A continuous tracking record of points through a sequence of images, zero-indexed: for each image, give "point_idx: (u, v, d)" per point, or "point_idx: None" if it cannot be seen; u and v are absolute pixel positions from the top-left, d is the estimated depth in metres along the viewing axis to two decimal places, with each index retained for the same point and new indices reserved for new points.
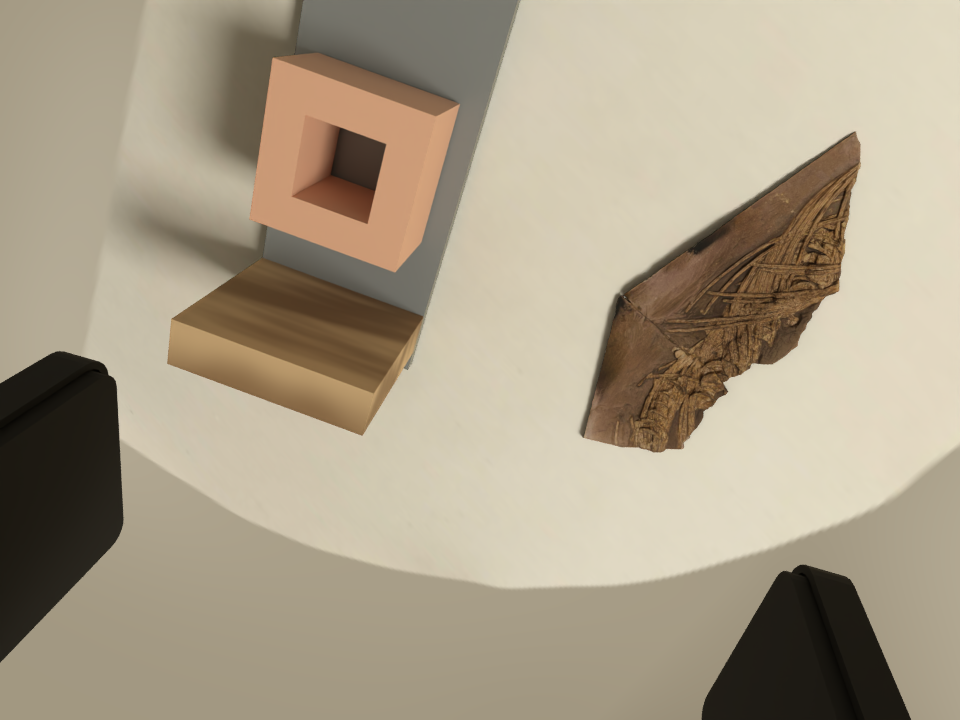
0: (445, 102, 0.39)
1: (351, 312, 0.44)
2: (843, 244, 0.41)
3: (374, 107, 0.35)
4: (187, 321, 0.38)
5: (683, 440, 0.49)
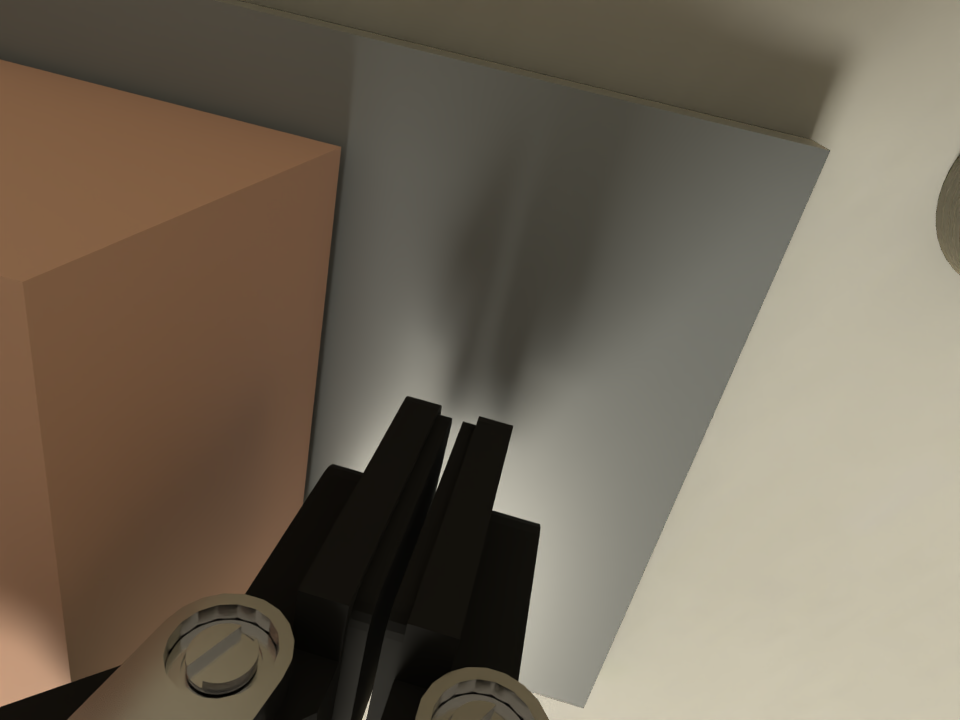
0: None
1: None
2: None
3: None
4: None
5: None
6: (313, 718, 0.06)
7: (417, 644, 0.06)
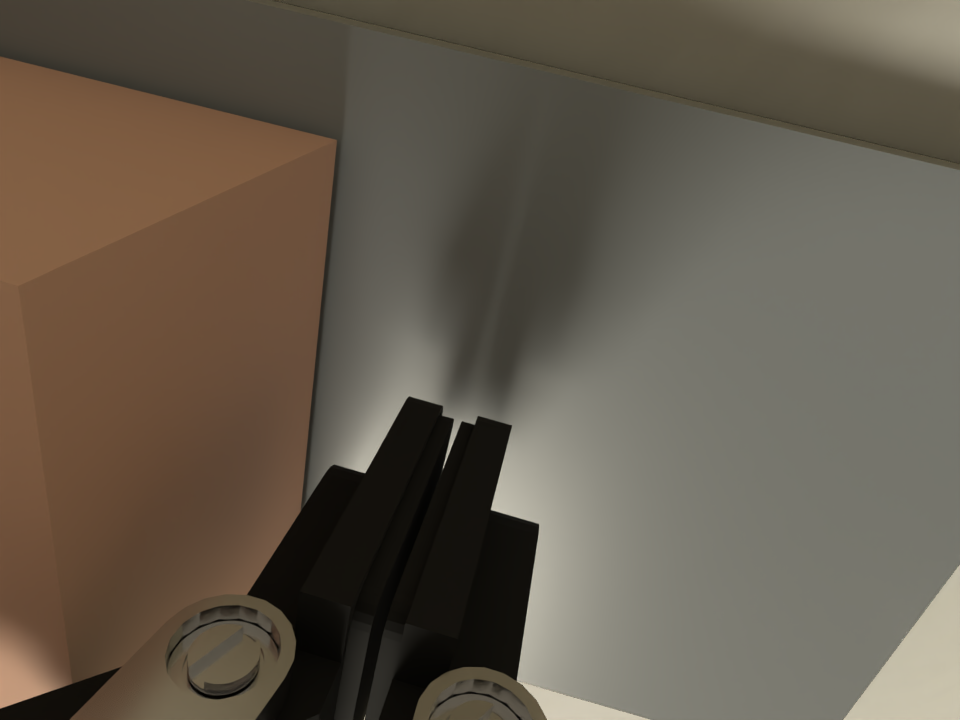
0: None
1: None
2: None
3: None
4: None
5: None
6: None
7: (415, 644, 0.06)
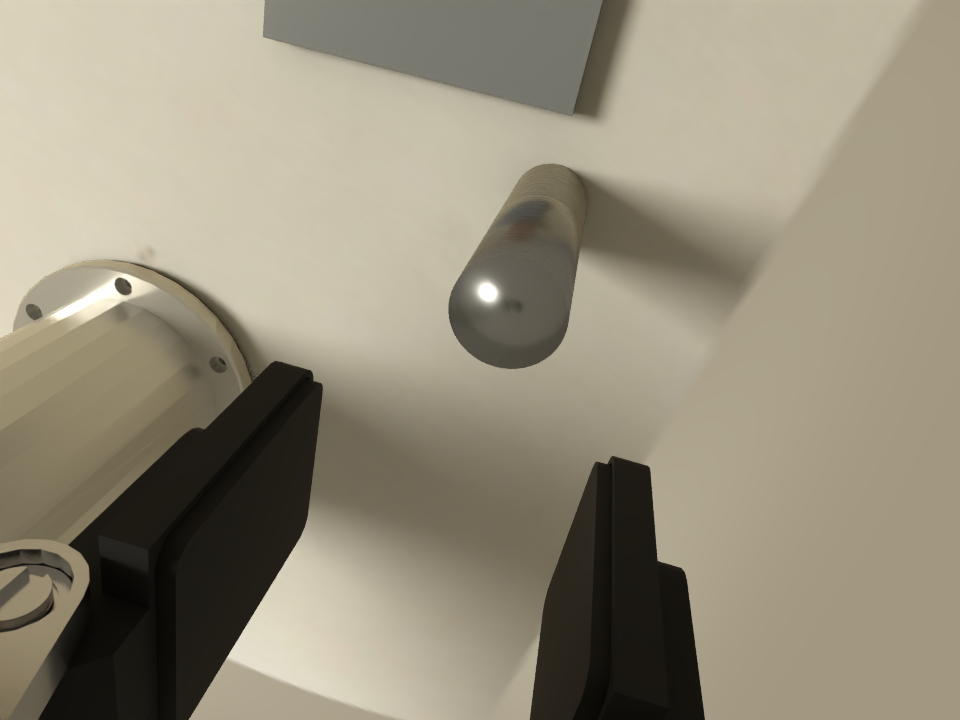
0: None
1: None
2: None
3: None
4: None
5: None
6: (109, 660, 0.06)
7: (621, 712, 0.06)
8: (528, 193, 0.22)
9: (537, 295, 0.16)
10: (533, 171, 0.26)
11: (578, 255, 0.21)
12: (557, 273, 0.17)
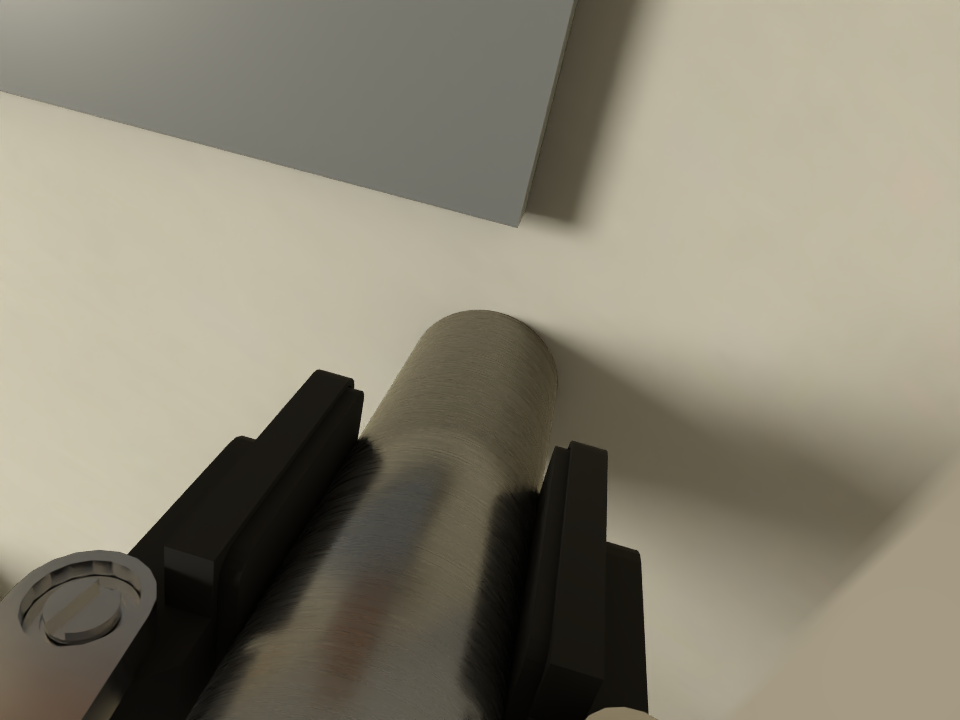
0: None
1: None
2: None
3: None
4: None
5: None
6: (176, 671, 0.06)
7: (558, 683, 0.06)
8: (387, 466, 0.08)
9: None
10: (440, 336, 0.12)
11: None
12: None
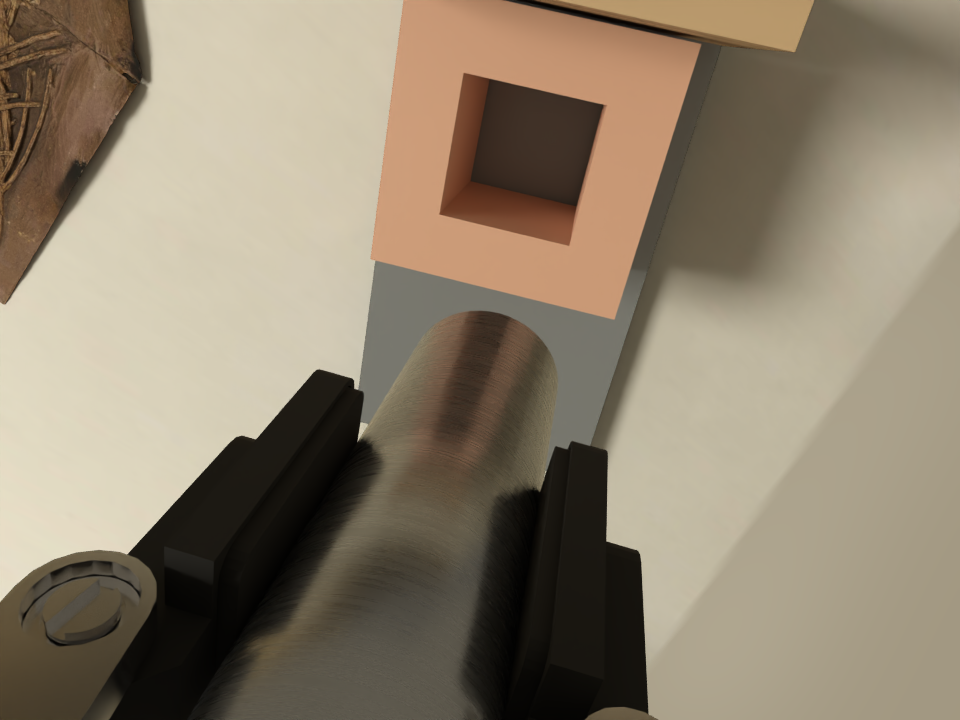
0: None
1: None
2: None
3: (460, 264, 0.24)
4: (758, 44, 0.16)
5: None
6: (176, 671, 0.06)
7: (558, 683, 0.06)
8: (388, 467, 0.08)
9: None
10: (441, 337, 0.12)
11: None
12: None
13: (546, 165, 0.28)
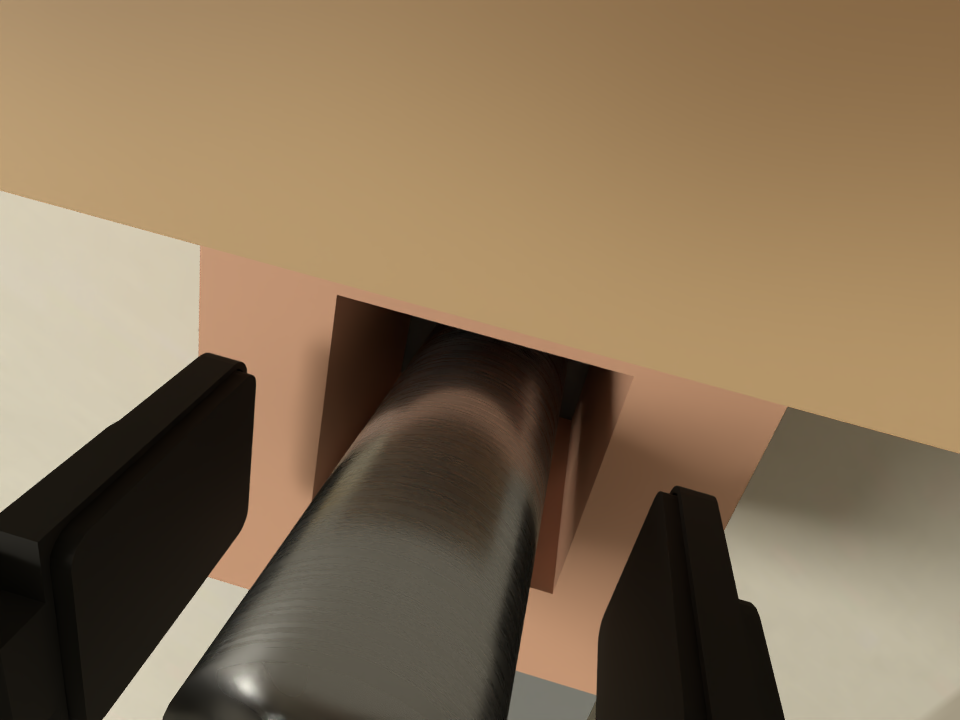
0: None
1: None
2: None
3: None
4: None
5: None
6: None
7: None
8: (449, 343, 0.11)
9: None
10: None
11: (546, 481, 0.10)
12: (451, 676, 0.06)
13: None
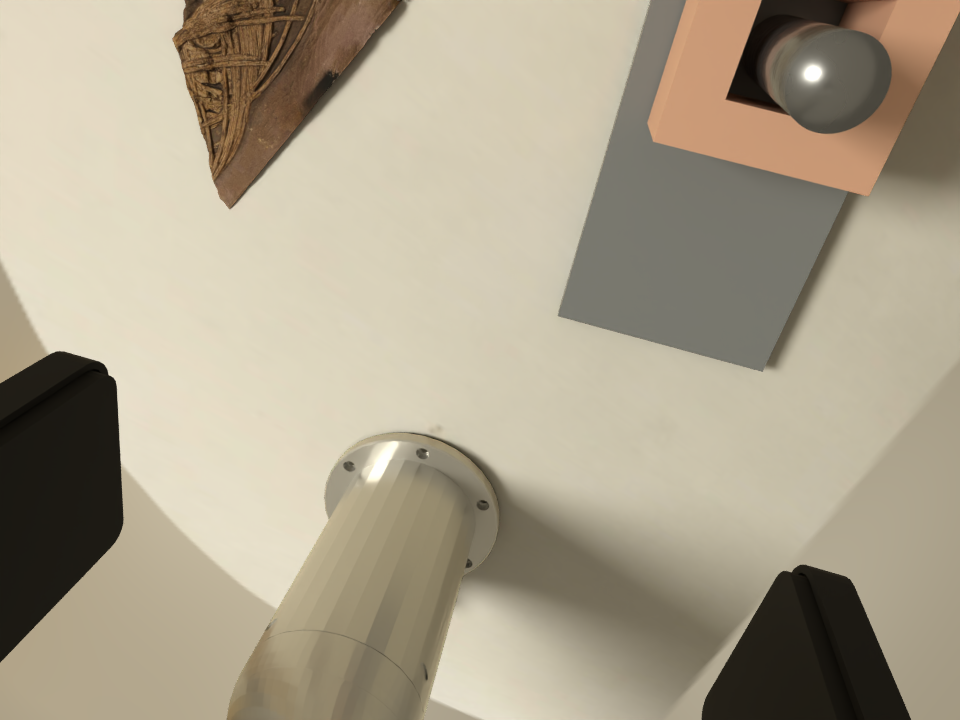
0: None
1: None
2: (191, 96, 0.38)
3: (735, 145, 0.28)
4: None
5: None
6: None
7: None
8: (791, 22, 0.26)
9: (865, 62, 0.21)
10: (768, 20, 0.30)
11: None
12: None
13: None
